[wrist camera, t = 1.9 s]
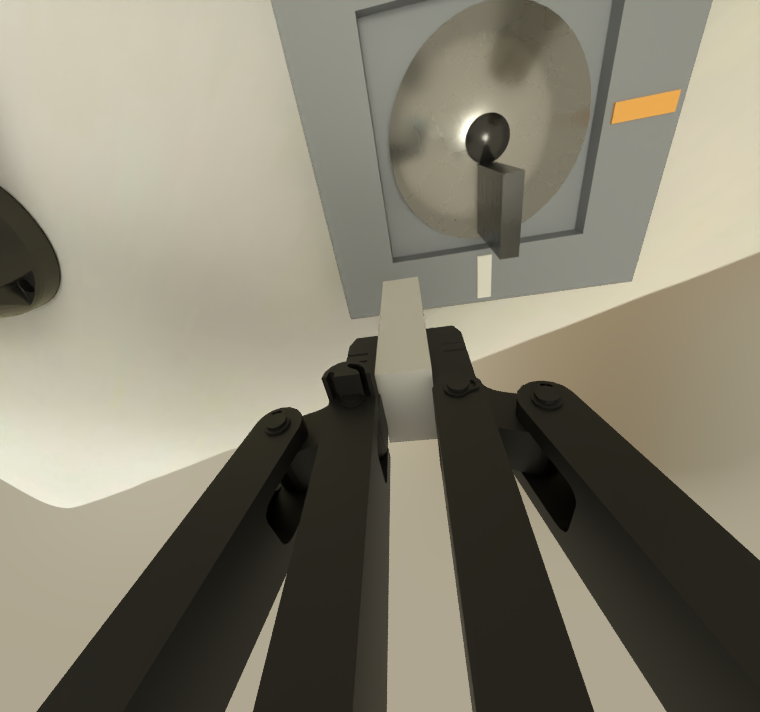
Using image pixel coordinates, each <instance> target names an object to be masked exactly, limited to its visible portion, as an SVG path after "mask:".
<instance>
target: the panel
mask: <svg viewBox="0 0 760 712" xmlns="http://www.w3.org/2000/svg"><path fill="white" fill-rule="evenodd" d="M483 1H486V0H271V3H272V7H273V11H274V15H275V19H276V23H277V27H278V31H279V35H280V39H281V43H282V47H283V51H284V55H285V59H286V63H287V67H288V71H289V75H290V79H291V83H292V87H293V91H294V95H295V99H296V103H297V107H298V111H299V115H300V119H301V123H302V126H303V130H304V134H305V138H306V142H307V146H308V150H309V154H310V158H311V162H312V166H313V170H314V174H315V178H316V182H317V186H318V190H319V194H320V198H321V202H322V206H323V210H324V214H325V218H326V222H327V226H328V230H329V234H330V238H331V242H332V246H333V250H334V254H335V258H336V262H337V266H338V270H339V273H340V277H341V281H342V285H343V289H344V293H345V297H346V301H347V305H348V309H349V313H350V317H351V319H357V318H365V317H372V316H379V315H380V310H381V299H382V288H383V282H384V281H391V280H398V279H404V278H411V277H418V281H419V288H420V294H421V301H422V308H423V310H424V309H431V308H438V307H446V306H453V305H461V304H468V303H475V302H483V301H490V300H498V299H505V298H512V297H520V296H527V295H535V294H542V293H549V292H557V291H564V290H571V289H579V288H586V287H594V286H601V285H608V284H616V283H623V282H631V281H632V279H633V276H634V272H635V269H636V265H637V262H638V258H639V255H640V251H641V248H642V244H643V241H644V237H645V234H646V230H647V227H648V223H649V220H650V216H651V213H652V210H653V206H654V203H655V199H656V196H657V192H658V189H659V185H660V182H661V178H662V175H663V171H664V168H665V164H666V161H667V157H668V154H669V150H670V147H671V143H672V140H673V137H674V133H675V130H676V126H677V123H678V119H679V116H680V112H681V109H682V105H683V102H684V98H685V95H686V91H687V88H688V84H689V81H690V77H691V74H692V70H693V67H694V64H695V60H696V57H697V53H698V50H699V46H700V43H701V39H702V36H703V32H704V29H705V25H706V22H707V18H708V15H709V11H710V8H711V4H712V1H713V0H532V1H535V2H537V3H539V4H542V5H544V6H546V7H548V8H549V9H551V10H552V11H554V12H555V13H556V14H558V15H559V16H560V17H561V18H562V19H563V20H564V21H565V22H566V23H567V24H568V25H569V26H570V28H571V29H572V31H573V32H574V34H575V35H576V37H577V38H578V40H579V42H580V44H581V47H582V49H583V51H584V53H585V57H586V60H587V64H588V68H589V73H590V81H591V110H590V119H589V123H588V128H587V133H586V136H585V139H584V142H583V145H582V148H581V151H580V153H579V156H578V158H577V160H576V162H575V165H574V166H573V168H572V170H571V172H570V173H569V175H568V177H567V179H566V180H565V181H564V183H563V184H562V186H561V187H560V189H559V190H558V191H557V192H556V194H555V195H554V196H553V197H552V198H551V199H550V201H549V202H548V203H547V204H546V205H545V206H544V207H542V208H541V209H540V210H539V211H538V212H537V213H536V214H534V215H533V216H532V217H531V218H529V219H528V220H526V221H525V222H523V223H521V234H520V247H519V257H514V258H507V259H501V260H500V259H499V258H498V257H497V256H496V254H495V253H494V252H493V251H492V250H491V248H490V247H489V246H488V245H487V244H486V242H485V241H484V240H483V239H482V238H474V239H472V238H459V237H453V236H450V235H447V234H444V233H441V232H439V231H437V230H435V229H433V228H432V227H430V226H429V225H427V224H426V223H424V222H423V221H422V220H421V219H420V218H419V217H418V216H417V215H416V214H415V213H414V212H413V211H412V210H411V208H410V207H409V206H408V204H407V203H406V201H405V199H404V198H403V196H402V194H401V192H400V190H399V188H398V185H397V183H396V180H395V177H394V173H393V169H392V164H391V159H390V146H389V138H390V123H391V116H392V111H393V107H394V103H395V99H396V95H397V93H398V90H399V87H400V84H401V82H402V79H403V77H404V75H405V73H406V71H407V69H408V67H409V65H410V63H411V62H412V60H413V59H414V57H415V56H416V54H417V52H418V51H419V49H420V48H421V47H422V46H423V44H424V43H425V42H426V41H427V40H428V38H429V37H430V36H431V35H432V34H433V33H434V32H435V31H436V30H437V29H438V28H439V27H440V26H441V25H442V24H443V23H445V22H446V21H448V20H449V19H450V18H452V17H453V16H454V15H456V14H457V13H459V12H461V11H463V10H464V9H466V8H468V7H470V6H472V5H475V4H478V3H480V2H483Z"/></svg>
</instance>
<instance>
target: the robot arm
mask: <svg viewBox="0 0 760 712" xmlns="http://www.w3.org/2000/svg"><path fill="white" fill-rule="evenodd" d="M58 286H59V268H58V264H57V260H56V257H55V255H54V252H53V250H52V248H51V246H50V244H49V242H48V240H47V239H46V237H45V235H44V234H43V232H42V231H41V229H40V228H39V227H38V225H37V224H36V223H35V221H34V220H33V219H32V218H31V217H30V215H29V214H28V213H27V212H26V211H25V210H24V209H23V208H22V207H21V206H20V205H19V204H18V203H17V202H16V201H15V200H14V199H13V198H12V197H11V196H10V195H9V194H7V193H6V192H5V191H4V190H3V189H1V188H0V318H2V317H9V316H15V315H19V314H23V313H26V312H28V311H30V310H32V309H34V308H36V307H39V306H41V305H43V304H45V303H46V302H48V301H49V300H51V299H52V298H53V296H54V295H55V293H56V292H57V289H58ZM322 381H323V384H324V387H325V390H326V393H327V395H328V398H329V405H328V406H327V407H325V408H323V409H321V410H318V411H316V412H313V413H310V414H307V415H304V416H302V414H301V413H300V412H299V411H298V410H297V409H294V408H291V407H286V408H279V409H276V410H273V411H271V412H270V413H268V414H266V415H265V416H264V417H263V418H261V419H260V420H259V421H258V422H257V424H256V425H255V426H254V428H253V429H252V430H251V432H250V433H249V434H248V436H247V437H246V438H245V439H244V441H243V442H242V443H241V445H240V446H239V447H238V449H237V450H236V451H235V453H234V454H233V455H232V457H231V458H230V459H229V460H228V462H227V463H226V464H225V466H224V467H223V468H222V470H221V471H220V472H219V474H218V475H217V476H216V477H215V479H214V480H213V481H212V483H211V484H210V485H209V487H208V488H207V489H206V491H205V492H204V493H203V494H202V496H201V497H200V498H199V500H198V501H197V503H196V504H195V505H194V506H193V508H192V509H191V510H190V512H189V513H188V514H187V515H186V517H185V518H184V519H183V521H182V522H181V523H180V525H179V526H178V527H177V529H176V530H175V531H174V532H173V534H172V535H171V536H170V538H169V539H168V540H167V542H166V543H165V544H164V546H163V547H162V548H161V550H160V551H159V552H158V553H157V555H156V556H155V557H154V559H153V560H152V561H151V563H150V564H149V565H148V567H147V568H146V569H145V570H144V572H143V573H142V575H141V576H140V577H139V578H138V580H137V581H136V582H135V584H134V585H133V586H132V587H131V589H130V590H129V592H128V593H127V594H126V596H125V597H124V598H123V599H122V601H121V602H120V603H119V605H118V606H117V607H116V608H115V610H114V611H113V613H112V614H111V615H110V616H109V618H108V619H107V620H106V622H105V623H104V624H103V625H102V627H101V628H100V629H99V631H98V632H97V633H96V635H95V636H94V637H93V639H92V640H91V641H90V642H89V644H88V645H87V646H86V648H85V649H84V650H83V652H82V653H81V654H80V656H79V657H78V658H77V659H76V661H75V662H74V664H73V665H72V666H71V667H70V669H69V670H68V671H67V673H66V674H65V675H64V677H63V678H62V679H61V681H60V682H59V683H58V685H57V686H56V687H55V688H54V690H53V691H52V692H51V694H50V695H49V696H48V698H47V699H46V700H45V702H44V703H43V704H42V705H41V707H40V708H39V709H38V711H37V712H225V710H226V708H227V706H228V703H229V701H230V699H231V697H232V694H233V692H234V690H235V688H236V685H237V683H238V681H239V678H240V677H241V674H242V672H243V670H244V668H245V665H246V663H247V660H248V659H249V657H250V654H251V652H252V650H253V648H254V645H255V643H256V641H257V639H258V636H259V634H260V632H261V630H262V628H263V625H264V623H265V621H266V619H267V616H268V614H269V612H270V610H271V607H272V605H273V603H274V601H275V599H276V596H277V594H278V592H279V590H280V587H281V585H282V583H283V581H284V578H285V576H286V574H287V576H286V580H285V584H284V588H283V592H282V596H281V600H280V604H279V608H278V612H277V616H276V620H275V625H274V628H273V632H272V637H271V641H270V645H269V649H268V653H267V657H266V661H265V665H264V669H263V673H262V677H261V681H260V686H259V689H258V693H257V697H256V701H255V706H254V710H253V712H386V711H387V650H388V649H387V648H388V646H387V645H388V583H389V516H390V453H389V449H388V436H389V440H390V442H403V441H415V440H426V439H427V440H428V439H438V445H439V456H440V465H441V471H442V478H443V486H444V494H445V501H446V509H447V517H448V525H449V532H450V539H451V548H452V556H453V564H454V570H455V578H456V587H457V595H458V602H459V610H460V618H461V626H462V633H463V641H464V648H465V657H466V664H467V672H468V680H469V687H470V696H471V703H472V710H473V712H594V710H593V707H592V704H591V701H590V698H589V695H588V692H587V689H586V686H585V683H584V680H583V677H582V675H581V672H580V669H579V666H578V663H577V660H576V657H575V654H574V651H573V648H572V645H571V642H570V639H569V636H568V633H567V630H566V627H565V624H564V621H563V618H562V616H561V613H560V610H559V607H558V604H557V601H556V598H555V595H554V592H553V589H552V586H551V583H550V580H549V578H548V574H547V571H546V569H545V566H544V563H543V560H542V557H541V554H540V551H539V548H538V545H537V542H536V539H535V536H534V533H533V530H532V527H531V524H530V522H529V518H528V515H527V512H526V509H525V506H524V504H523V501H522V498H521V495H520V492H519V489H518V486H517V483H516V480H515V477H514V475H515V476H516V478H517V479H518V481H519V483H520V484H521V486H522V487H523V489H524V490H525V492H526V493H527V495H528V497H529V498H530V500H531V501H532V503H533V504H534V506H535V507H536V509H537V511H538V512H539V514H540V515H541V517H542V518H543V520H544V521H545V523H546V525H547V526H548V528H549V529H550V531H551V532H552V534H553V535H554V537H555V539H556V540H557V542H558V543H559V545H560V546H561V548H562V549H563V551H564V552H565V554H566V556H567V557H568V559H569V560H570V562H571V563H572V565H573V567H574V568H575V570H576V571H577V573H578V574H579V576H580V578H581V579H582V581H583V582H584V584H585V585H586V587H587V588H588V590H589V591H590V593H591V595H592V596H593V598H594V599H595V601H596V602H597V604H598V606H599V607H600V609H601V610H602V612H603V613H604V615H605V616H606V618H607V619H608V621H609V623H610V624H611V626H612V627H613V629H614V630H615V632H616V634H617V635H618V637H619V638H620V640H621V641H622V643H623V644H624V646H625V648H626V649H627V651H628V652H629V654H630V655H631V656H632V658H633V660H634V662H635V663H636V665H637V666H638V668H639V669H640V671H641V672H642V674H643V675H644V677H645V678H646V680H647V682H648V683H649V685H650V686H651V688H652V689H653V691H654V693H655V694H656V696H657V697H658V699H659V700H660V702H661V703H662V705H663V707H664V708H665V710H666V711H667V712H760V560H759V559H757V558H756V557H755V556H754V555H753V554H752V553H751V552H750V551H749V550H748V549H746V548H745V547H744V546H743V545H742V544H741V543H740V542H738V541H737V540H736V539H735V538H734V537H733V536H732V535H731V534H730V533H729V532H728V531H726V530H725V529H724V528H723V527H722V526H721V525H720V524H719V523H718V522H716V521H715V520H714V519H713V518H712V517H711V516H710V515H708V513H706V512H705V511H704V510H703V509H702V508H701V507H700V506H699V505H697V504H696V503H695V502H694V501H693V500H692V499H691V498H690V497H688V495H686V494H685V493H684V492H683V491H682V490H681V489H680V488H679V487H678V486H677V485H675V484H674V483H673V482H672V481H671V480H670V479H669V478H668V477H666V476H665V475H664V474H663V473H662V472H661V471H660V470H659V469H658V468H657V467H655V466H654V465H653V464H652V463H651V462H650V461H649V460H648V459H647V458H645V457H644V456H643V455H642V454H641V453H640V452H639V451H638V450H636V449H635V448H634V447H633V446H632V445H631V444H630V443H629V442H628V441H627V440H625V439H624V438H623V437H622V436H621V435H620V434H619V433H617V431H615V430H614V429H613V428H612V427H611V426H610V425H609V424H608V423H607V422H605V421H604V420H603V419H602V418H601V417H600V416H599V415H598V414H596V412H594V411H593V410H592V409H591V408H590V407H589V406H588V405H587V404H586V403H584V402H583V401H582V400H581V399H580V398H579V397H578V396H577V395H575V394H574V393H573V392H572V391H571V390H569V389H568V388H566V387H565V386H563V385H560V384H557V383H554V382H548V381H534V382H529V383H527V384H525V385H523V386H522V387H521V388H520V389H519V390H518V391H517V394H515V393H507V392H501V391H496V390H492V389H490V388H487V387H486V386H484V385H483V384H482V383H481V381H480V380H479V379H478V378H476V376H475V374H474V370H473V367H472V364H471V361H470V358H469V355H468V352H467V350H466V346H465V343H464V340H463V337H462V334H461V332H460V331H459V330H458V329H456V328H455V327H454V326H445V327H437V328H429V329H426V328H425V321H424V314H423V308H422V301H421V294H420V288H419V281H418V277H411V278H404V279H398V280H391V281H384V282H383V288H382V299H381V310H380V321H379V332H378V336H373V337H365V338H358V339H356V340H355V341H354V342H353V344H352V345H351V346H350V348H349V352H348V357H347V361H346V362H342V363H339V364H337V365H334V366H332V367H331V368H330V369H328V370H327V371H326V372H325V373H324V375H323V377H322ZM513 473H514V474H513Z"/></svg>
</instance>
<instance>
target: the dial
mask: <svg viewBox="0 0 760 712" xmlns="http://www.w3.org/2000/svg"><path fill="white" fill-rule="evenodd" d="M590 110H591V81H590V73H589V68H588V64H587V60H586V57H585V53H584V51H583V49H582V47H581V44H580V42H579V40H578V38H577V37H576V35H575V34H574V32H573V31H572V29H571V28H570V26H569V25H568V24H567V23H566V22H565V21H564V20H563V19H562V18H561V17H560V16H559V15H558V14H556V13H555V12H554V11H552V10H551V9H549V8H548V7H546V6H544V5H542V4H539V3H537V2H535V1H532V0H486V1H483V2H480V3H478V4H475V5H472V6H470V7H468V8H466V9H464V10H463V11H461V12H459V13H457V14H456V15H454V16H453V17H452V18H450V19H449V20H448V21H446V22H445V23H443V24H442V25H441V26H440V27H439V28H438V29H437V30H436V31H435V32H434V33H433V34H432V35H431V36H430V37H429V38H428V40H427V41H426V42H425V43H424V44H423V46H422V47H421V48H420V49H419V51H418V52H417V54H416V56H415V57H414V59H413V60H412V62H411V63H410V65H409V67H408V69H407V71H406V73H405V75H404V77H403V79H402V82H401V84H400V87H399V90H398V93H397V95H396V99H395V103H394V107H393V111H392V116H391V123H390V138H389V146H390V159H391V164H392V169H393V173H394V177H395V180H396V183H397V185H398V188H399V190H400V192H401V194H402V196H403V198H404V199H405V201H406V203H407V204H408V206H409V207H410V208H411V210H412V211H413V212H414V213H415V214H416V215H417V216H418V217H419V218H420V219H421V220H422V221H423V222H424V223H426V224H427V225H429V226H430V227H432V228H433V229H435V230H437V231H439V232H441V233H444V234H447V235H450V236H453V237H459V238H472V239H474V238H482V239H483V240H484V241H485V242H486V244H487V245H488V246H489V247H490V248H491V250H492V251H493V252H494V253H495V254H496V256H497V257H498V258H499V259H500V260H501V259H507V258H514V257H519V247H520V234H521V223H523V222H525V221H526V220H528V219H529V218H531V217H532V216H533V215H534V214H536V213H537V212H538V211H539V210H540V209H541V208H542V207H544V206H545V205H546V204H547V203H548V202H549V201H550V199H551V198H552V197H553V196H554V195H555V194H556V192H557V191H558V190H559V189H560V187H561V186H562V184H563V183H564V181H565V180H566V179H567V177H568V175H569V173H570V172H571V170H572V168H573V166H574V165H575V162H576V160H577V158H578V156H579V153H580V151H581V148H582V145H583V142H584V139H585V136H586V133H587V128H588V123H589V119H590Z"/></svg>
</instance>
